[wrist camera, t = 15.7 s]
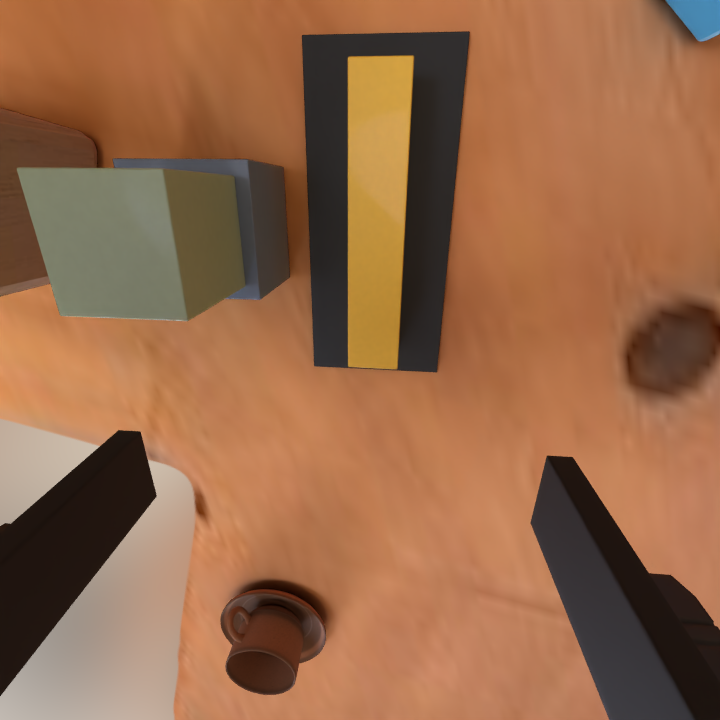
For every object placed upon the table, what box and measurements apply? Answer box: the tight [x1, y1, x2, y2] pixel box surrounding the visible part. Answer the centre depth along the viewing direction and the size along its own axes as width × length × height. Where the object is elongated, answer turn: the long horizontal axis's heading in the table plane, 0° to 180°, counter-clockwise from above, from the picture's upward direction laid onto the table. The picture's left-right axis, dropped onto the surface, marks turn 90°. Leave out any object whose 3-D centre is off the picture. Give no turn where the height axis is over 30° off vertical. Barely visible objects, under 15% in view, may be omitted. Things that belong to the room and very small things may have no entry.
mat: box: [302, 32, 470, 372], centre depth 28 cm, size 22×10×1 cm, turn 179°
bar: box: [348, 55, 414, 369], centre depth 26 cm, size 18×4×4 cm, turn 179°
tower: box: [17, 158, 290, 321], centre depth 23 cm, size 8×8×14 cm
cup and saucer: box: [221, 589, 326, 695], centre depth 43 cm, size 12×12×6 cm
